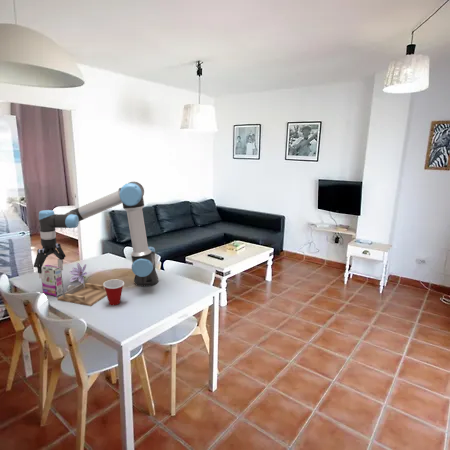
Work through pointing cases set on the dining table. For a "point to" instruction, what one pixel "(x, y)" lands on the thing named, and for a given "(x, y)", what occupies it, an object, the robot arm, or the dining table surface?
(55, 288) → the candy bar box
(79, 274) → the water lily
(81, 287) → the board
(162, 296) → the dining table surface
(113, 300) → the plastic cup
